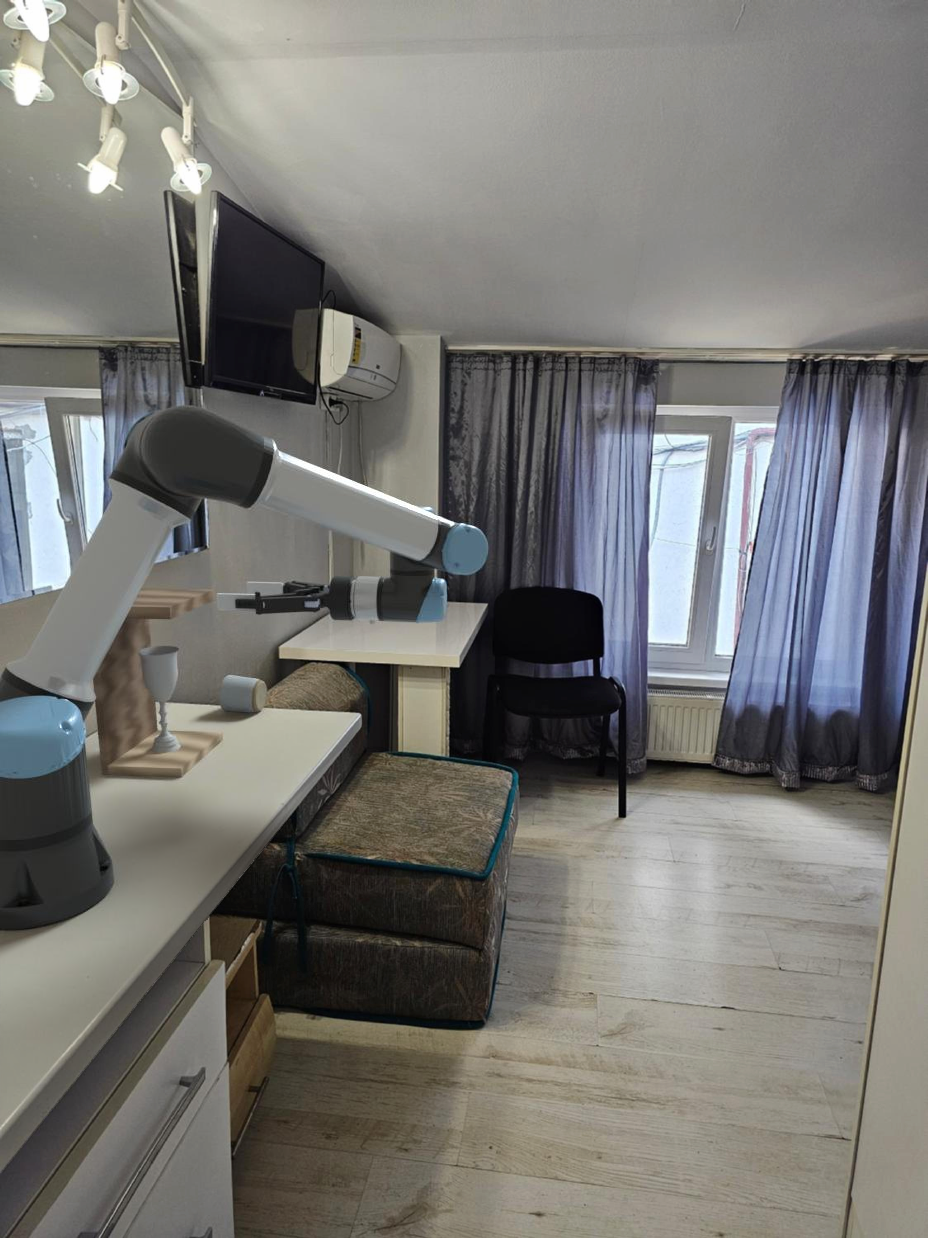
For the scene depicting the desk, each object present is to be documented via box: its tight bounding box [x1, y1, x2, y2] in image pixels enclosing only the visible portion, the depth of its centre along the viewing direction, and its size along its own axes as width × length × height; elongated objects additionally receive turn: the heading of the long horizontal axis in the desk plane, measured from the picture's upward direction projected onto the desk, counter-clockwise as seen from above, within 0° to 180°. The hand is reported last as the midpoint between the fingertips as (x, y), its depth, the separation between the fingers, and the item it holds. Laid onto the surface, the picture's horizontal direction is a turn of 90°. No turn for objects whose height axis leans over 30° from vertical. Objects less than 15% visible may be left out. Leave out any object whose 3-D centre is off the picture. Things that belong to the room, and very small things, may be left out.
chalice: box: [138, 645, 181, 753], centre depth 136 cm, size 7×7×18 cm
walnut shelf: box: [92, 588, 224, 778], centre depth 135 cm, size 18×14×29 cm
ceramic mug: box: [218, 674, 268, 713], centre depth 164 cm, size 11×8×8 cm
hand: (233, 595), depth 131 cm, fingers open, 13 cm apart
